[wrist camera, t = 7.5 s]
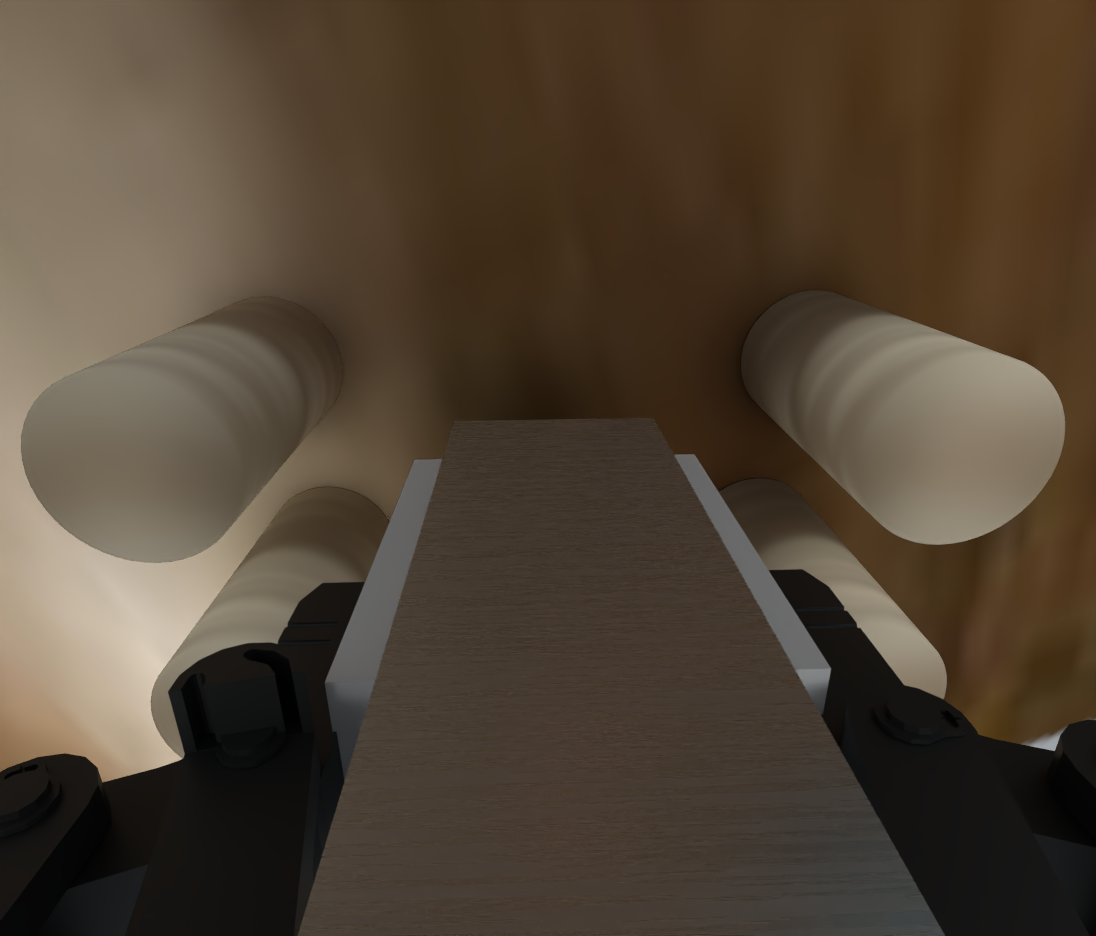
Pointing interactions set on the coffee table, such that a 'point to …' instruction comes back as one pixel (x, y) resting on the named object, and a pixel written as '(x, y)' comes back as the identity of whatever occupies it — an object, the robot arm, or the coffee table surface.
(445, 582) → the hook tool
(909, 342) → the posts
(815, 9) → the coffee table surface
